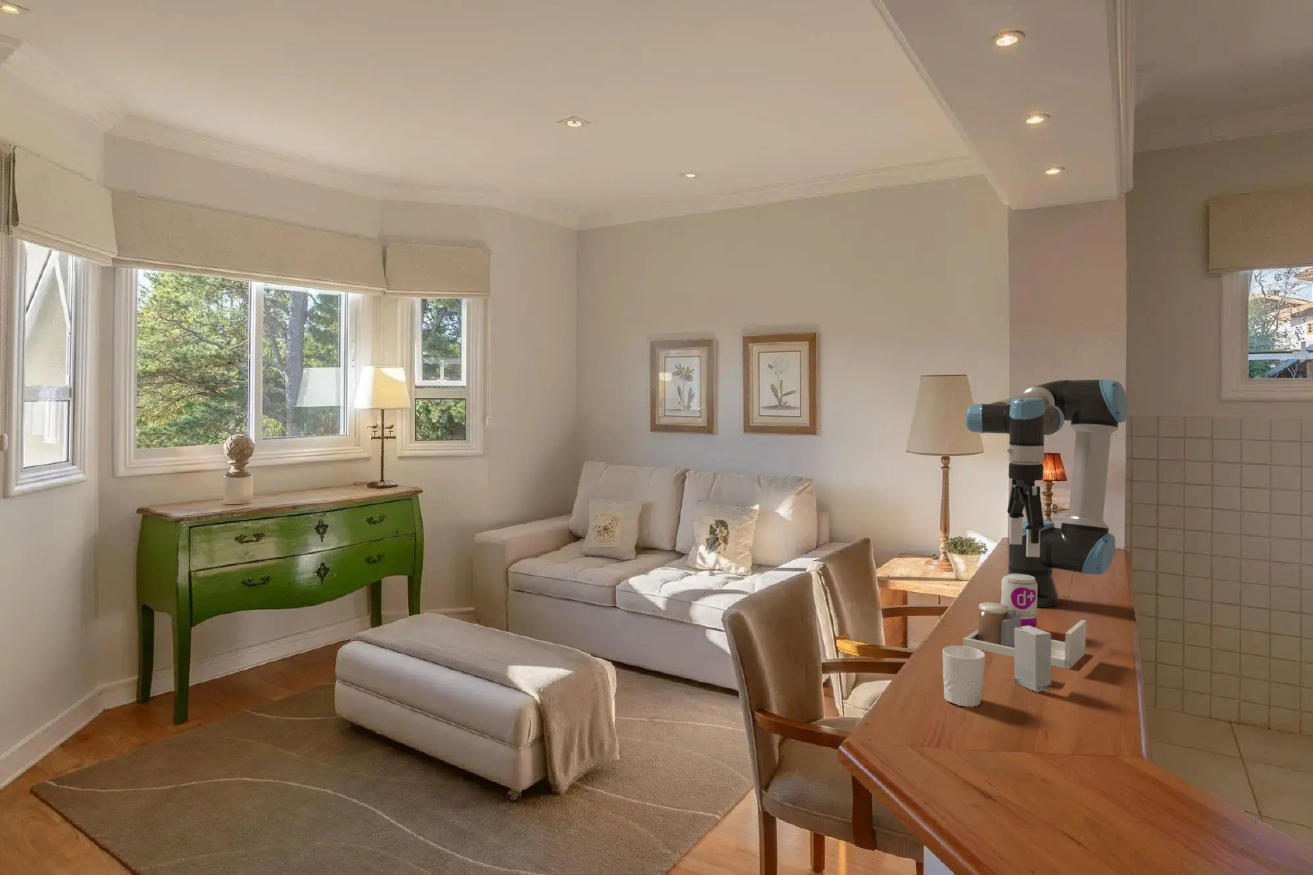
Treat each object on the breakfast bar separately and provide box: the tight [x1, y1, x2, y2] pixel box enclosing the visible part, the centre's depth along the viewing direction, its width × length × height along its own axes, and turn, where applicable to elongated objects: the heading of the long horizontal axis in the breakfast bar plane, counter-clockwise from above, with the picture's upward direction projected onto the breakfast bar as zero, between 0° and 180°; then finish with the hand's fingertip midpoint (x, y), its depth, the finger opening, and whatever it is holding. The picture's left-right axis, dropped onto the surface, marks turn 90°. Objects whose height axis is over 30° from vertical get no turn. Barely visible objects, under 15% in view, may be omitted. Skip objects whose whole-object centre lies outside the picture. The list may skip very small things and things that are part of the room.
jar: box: [977, 601, 1010, 645], centre depth 187 cm, size 7×7×9 cm
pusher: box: [1001, 610, 1021, 647], centre depth 185 cm, size 10×1×8 cm, turn 138°
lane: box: [962, 619, 1087, 670], centre depth 183 cm, size 13×23×9 cm, turn 48°
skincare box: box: [1014, 626, 1052, 693], centre depth 164 cm, size 6×4×12 cm
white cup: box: [941, 645, 986, 706], centre depth 156 cm, size 8×8×10 cm
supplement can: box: [1000, 573, 1038, 628], centre depth 197 cm, size 8×8×15 cm
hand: (1024, 550), depth 189 cm, fingers open, 13 cm apart
